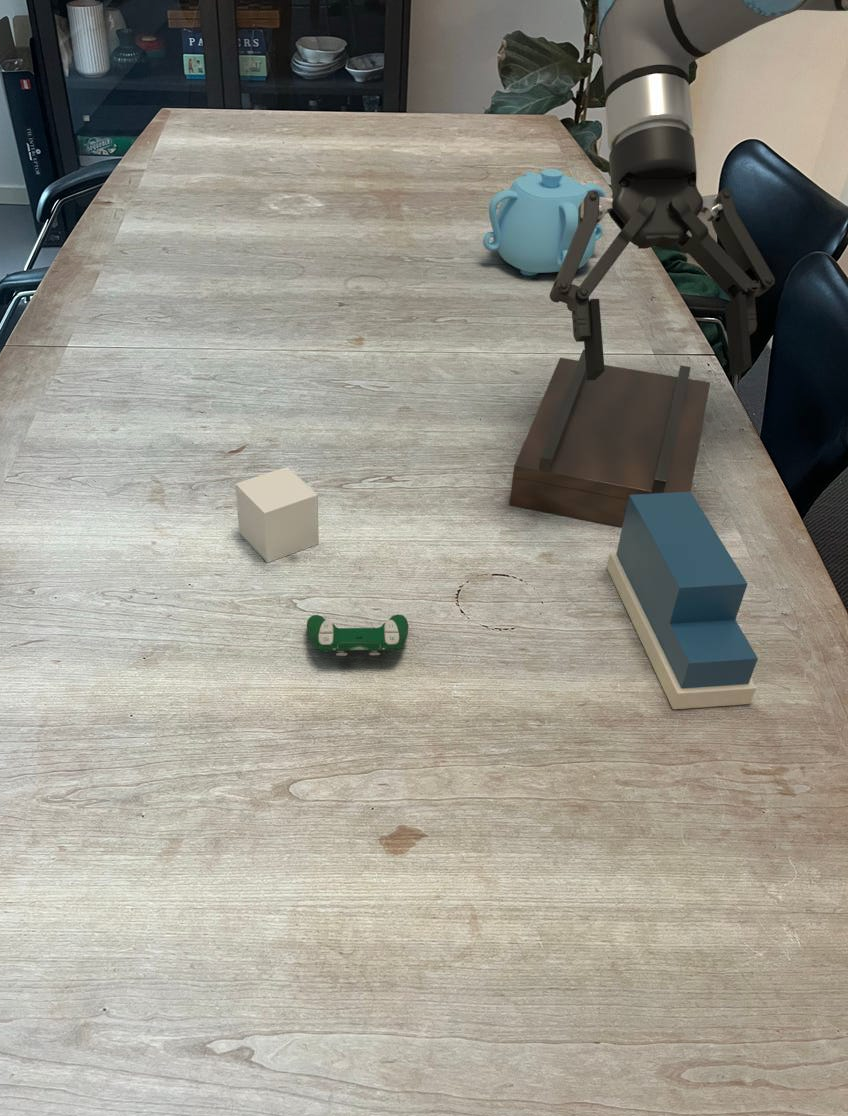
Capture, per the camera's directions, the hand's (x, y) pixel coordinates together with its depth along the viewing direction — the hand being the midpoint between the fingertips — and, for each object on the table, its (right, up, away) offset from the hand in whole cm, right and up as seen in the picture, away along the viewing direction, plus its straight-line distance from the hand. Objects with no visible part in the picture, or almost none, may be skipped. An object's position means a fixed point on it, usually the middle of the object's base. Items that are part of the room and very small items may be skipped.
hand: (668, 373), depth 93 cm
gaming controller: (-28, -25, +1) cm, 37 cm away
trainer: (+1, -23, +3) cm, 23 cm away
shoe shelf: (+1, -3, +25) cm, 25 cm away
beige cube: (-36, -14, +13) cm, 41 cm away
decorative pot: (0, +35, +68) cm, 76 cm away
